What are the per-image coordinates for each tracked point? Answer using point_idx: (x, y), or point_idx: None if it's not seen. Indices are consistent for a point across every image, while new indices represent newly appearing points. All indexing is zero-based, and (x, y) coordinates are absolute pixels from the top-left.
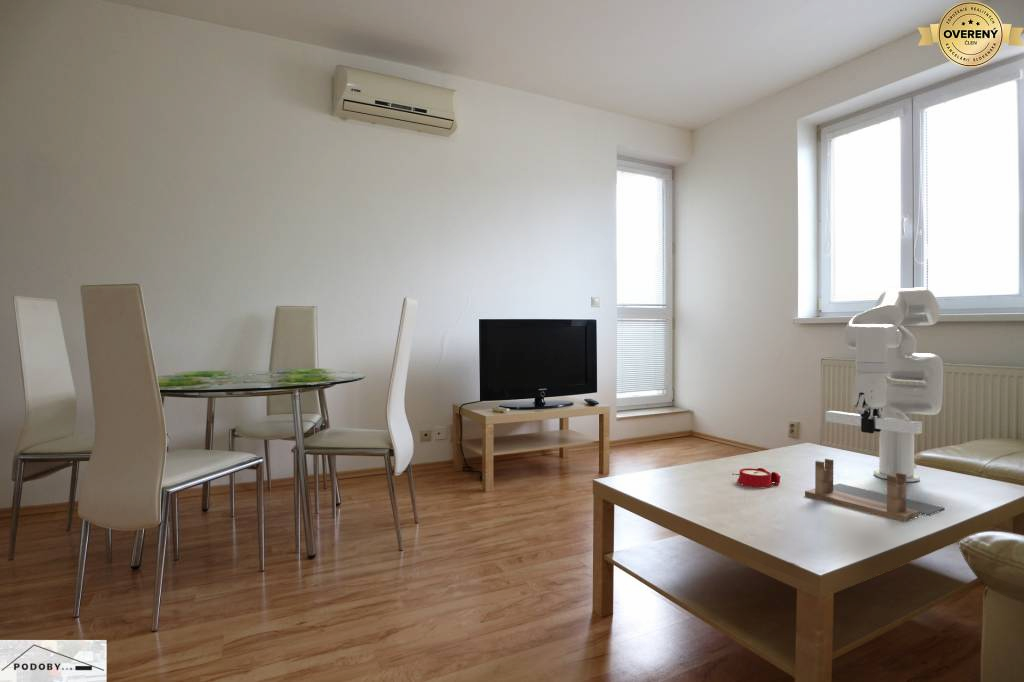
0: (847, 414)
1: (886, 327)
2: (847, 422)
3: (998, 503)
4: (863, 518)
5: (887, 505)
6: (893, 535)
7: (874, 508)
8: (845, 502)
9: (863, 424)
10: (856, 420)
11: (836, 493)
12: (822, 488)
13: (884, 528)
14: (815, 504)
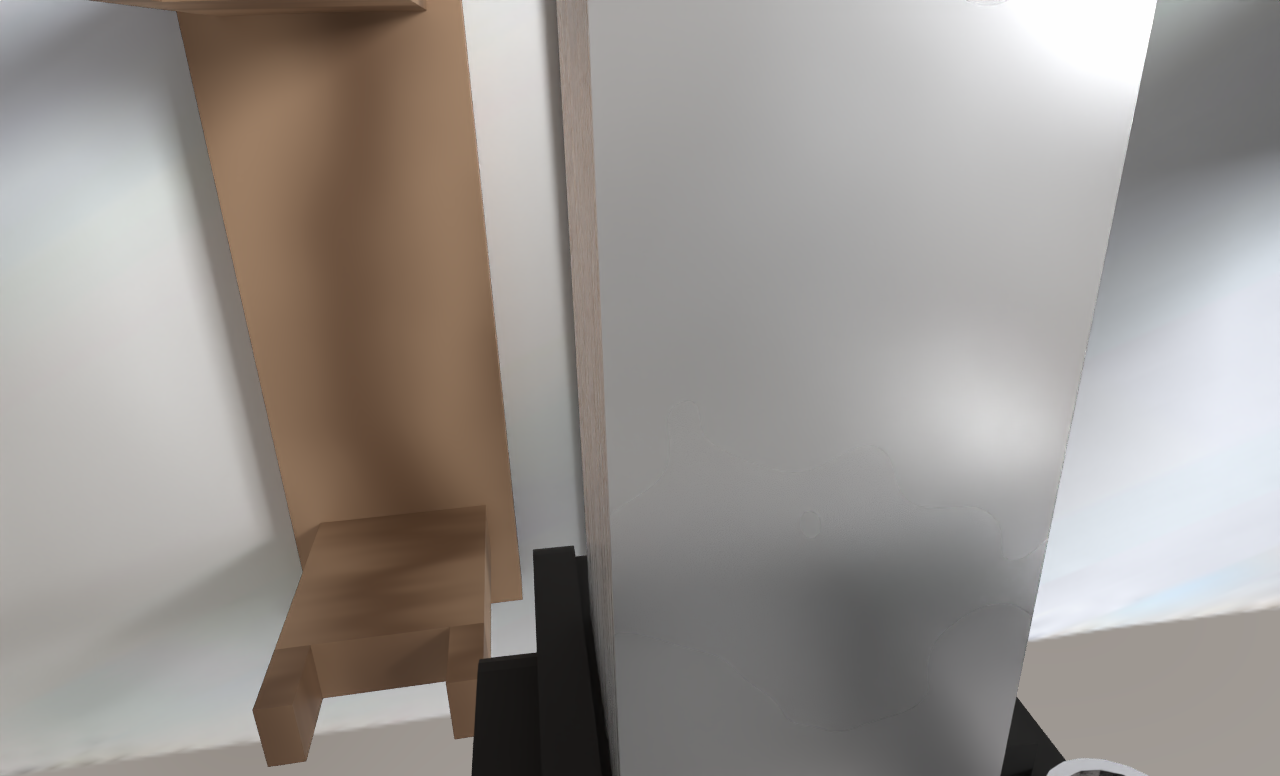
0: (599, 348)
1: None
2: (575, 249)
3: (1183, 606)
4: (122, 462)
5: (314, 548)
6: (12, 700)
7: (288, 460)
8: (233, 258)
9: (477, 751)
10: (597, 568)
11: (389, 71)
12: (203, 13)
13: (76, 619)
14: (32, 76)
